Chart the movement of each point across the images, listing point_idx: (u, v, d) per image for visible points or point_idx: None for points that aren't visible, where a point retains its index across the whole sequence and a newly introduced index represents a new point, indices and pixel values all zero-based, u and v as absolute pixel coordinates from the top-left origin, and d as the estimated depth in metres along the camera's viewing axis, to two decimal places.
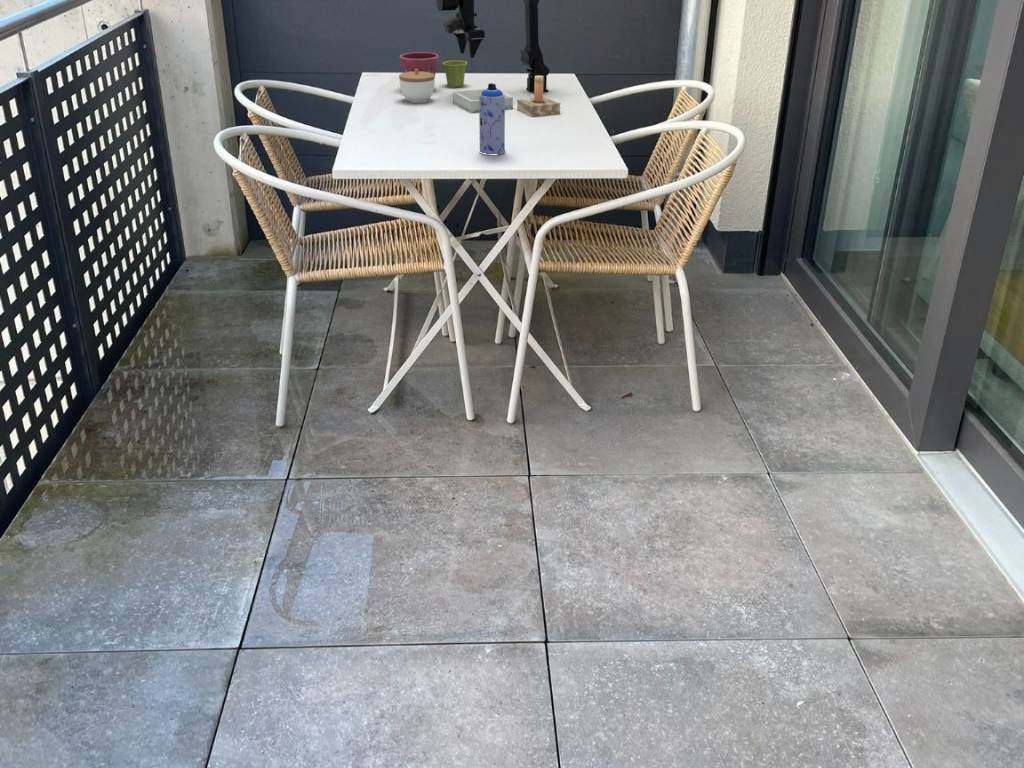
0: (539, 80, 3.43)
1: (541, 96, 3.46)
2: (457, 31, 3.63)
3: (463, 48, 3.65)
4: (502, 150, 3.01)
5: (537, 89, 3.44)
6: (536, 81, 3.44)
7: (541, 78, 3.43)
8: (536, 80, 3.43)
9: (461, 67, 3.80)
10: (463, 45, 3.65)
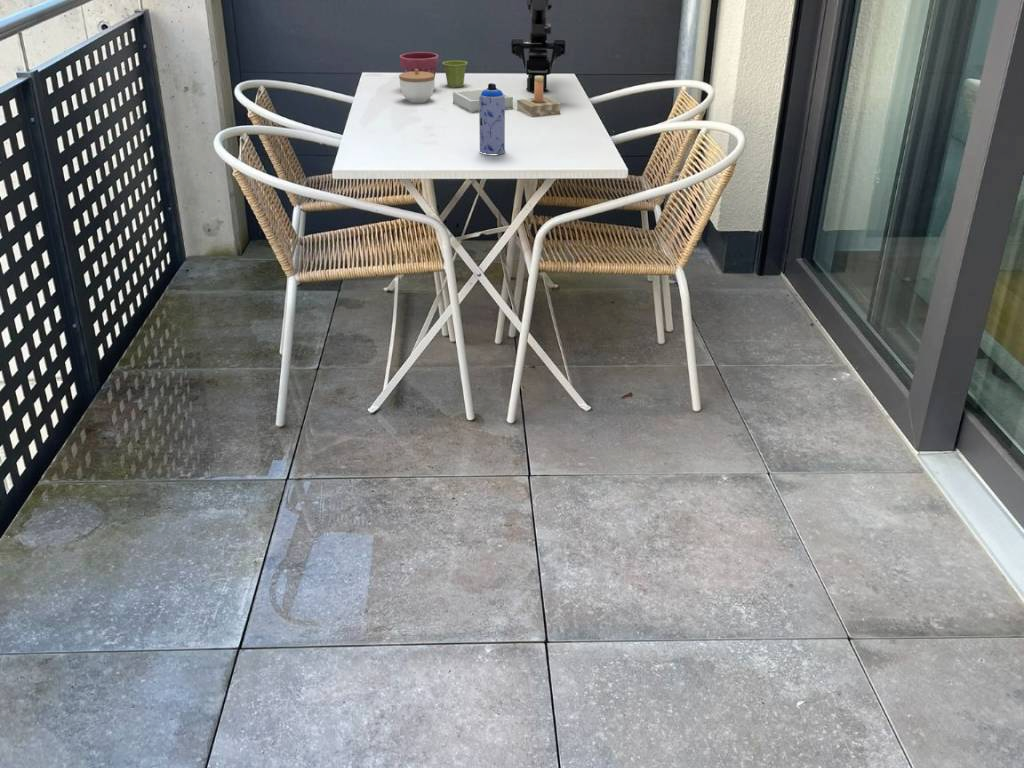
0: (539, 80, 3.43)
1: (541, 96, 3.46)
2: None
3: None
4: (502, 150, 3.01)
5: (537, 89, 3.44)
6: (536, 81, 3.44)
7: (541, 78, 3.43)
8: (536, 80, 3.43)
9: (461, 67, 3.80)
10: None
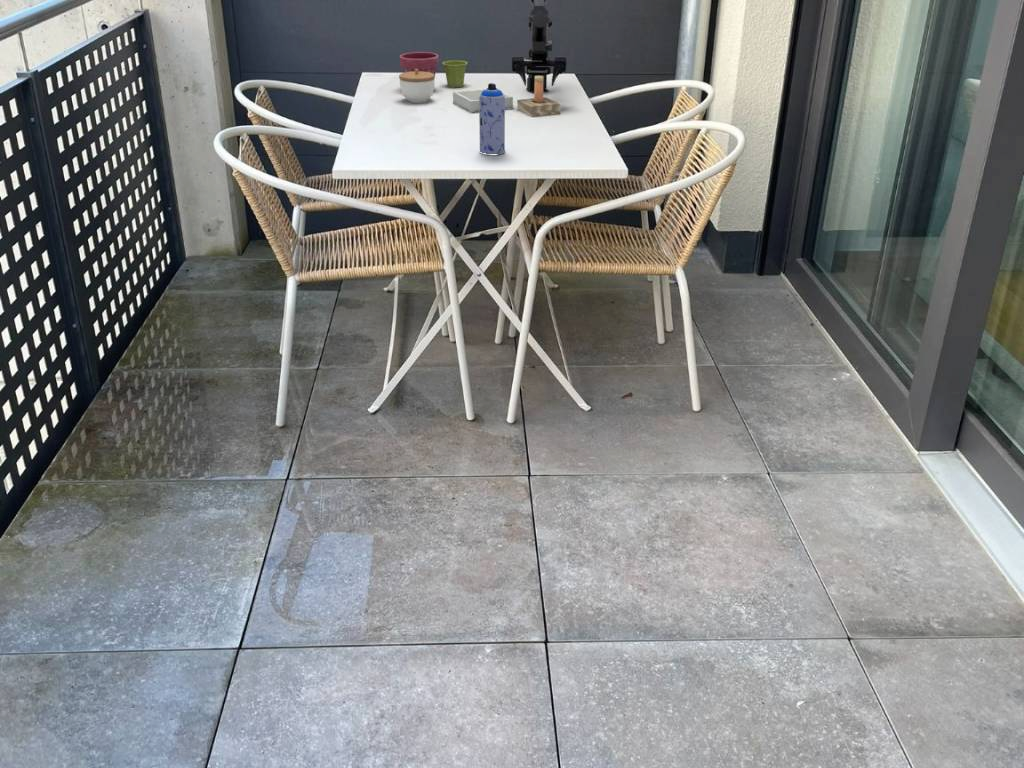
0: (539, 80, 3.43)
1: (541, 96, 3.46)
2: None
3: None
4: (502, 150, 3.01)
5: (537, 89, 3.44)
6: (536, 81, 3.44)
7: (541, 78, 3.43)
8: (536, 80, 3.43)
9: (461, 67, 3.80)
10: None
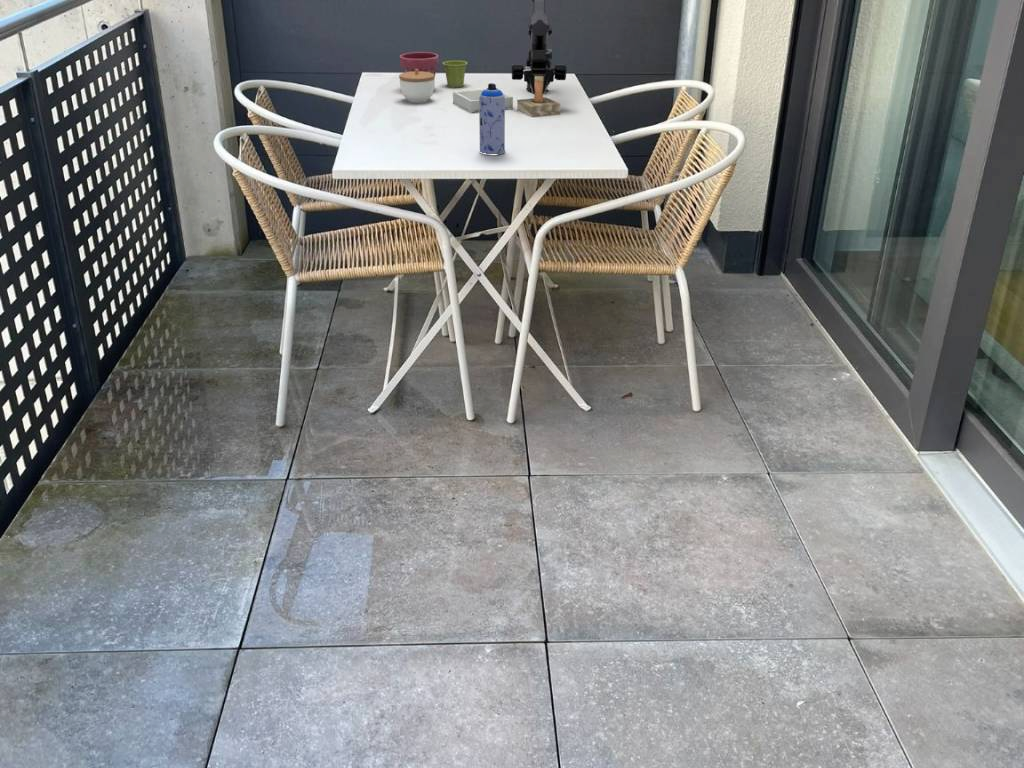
0: (539, 80, 3.43)
1: (541, 96, 3.46)
2: None
3: None
4: (502, 150, 3.01)
5: (537, 89, 3.44)
6: (536, 81, 3.44)
7: (541, 78, 3.43)
8: (536, 80, 3.43)
9: (461, 67, 3.80)
10: None
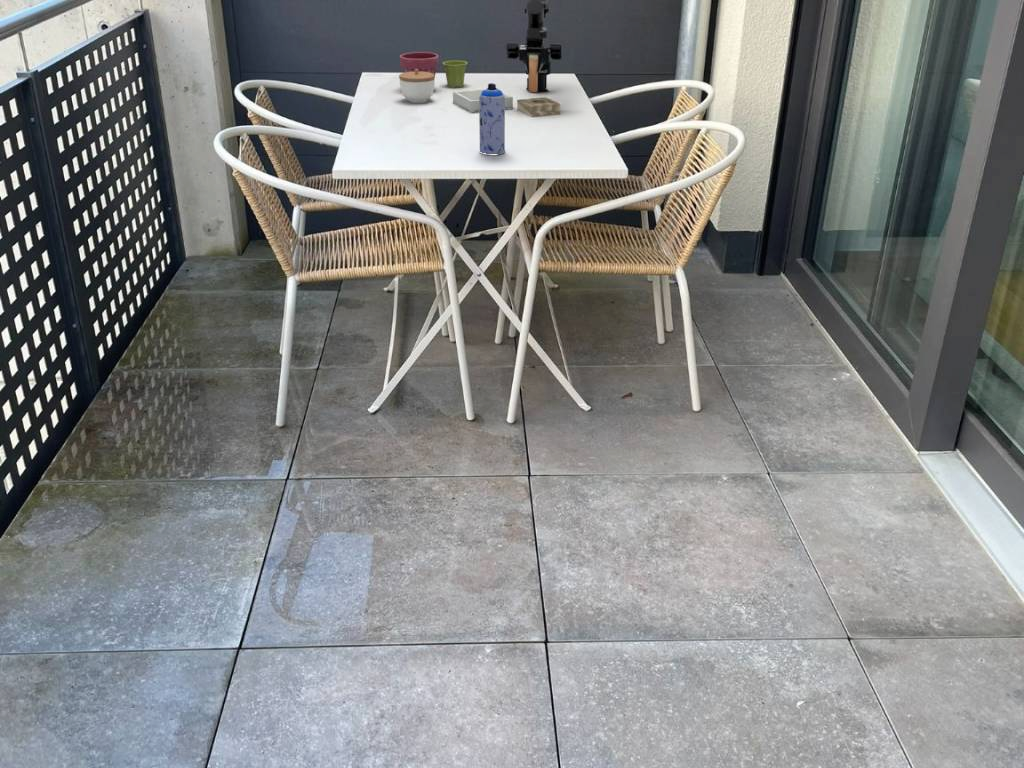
0: (533, 59, 3.40)
1: (535, 75, 3.43)
2: (526, 50, 3.43)
3: None
4: (502, 150, 3.01)
5: (532, 68, 3.41)
6: (530, 60, 3.41)
7: (535, 57, 3.40)
8: (530, 59, 3.40)
9: (461, 67, 3.80)
10: None
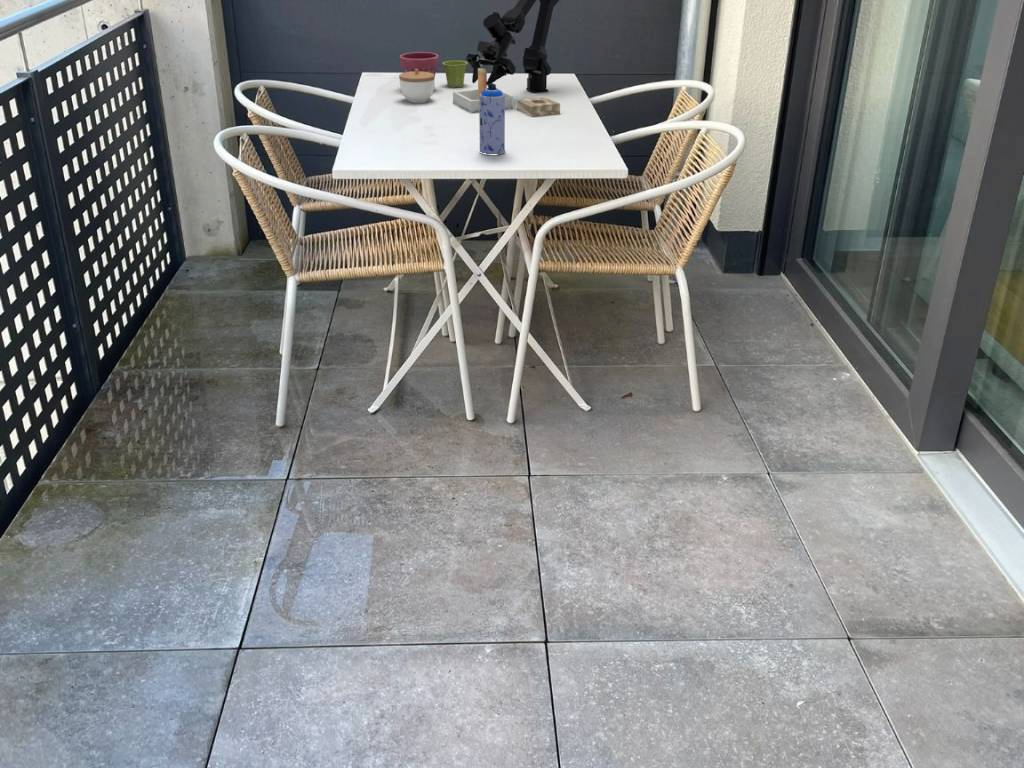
0: (479, 72, 3.50)
1: (482, 88, 3.53)
2: (478, 61, 3.55)
3: (476, 79, 3.55)
4: (502, 150, 3.01)
5: (478, 80, 3.52)
6: (478, 73, 3.51)
7: (481, 70, 3.50)
8: (478, 72, 3.51)
9: (461, 67, 3.80)
10: (477, 76, 3.55)
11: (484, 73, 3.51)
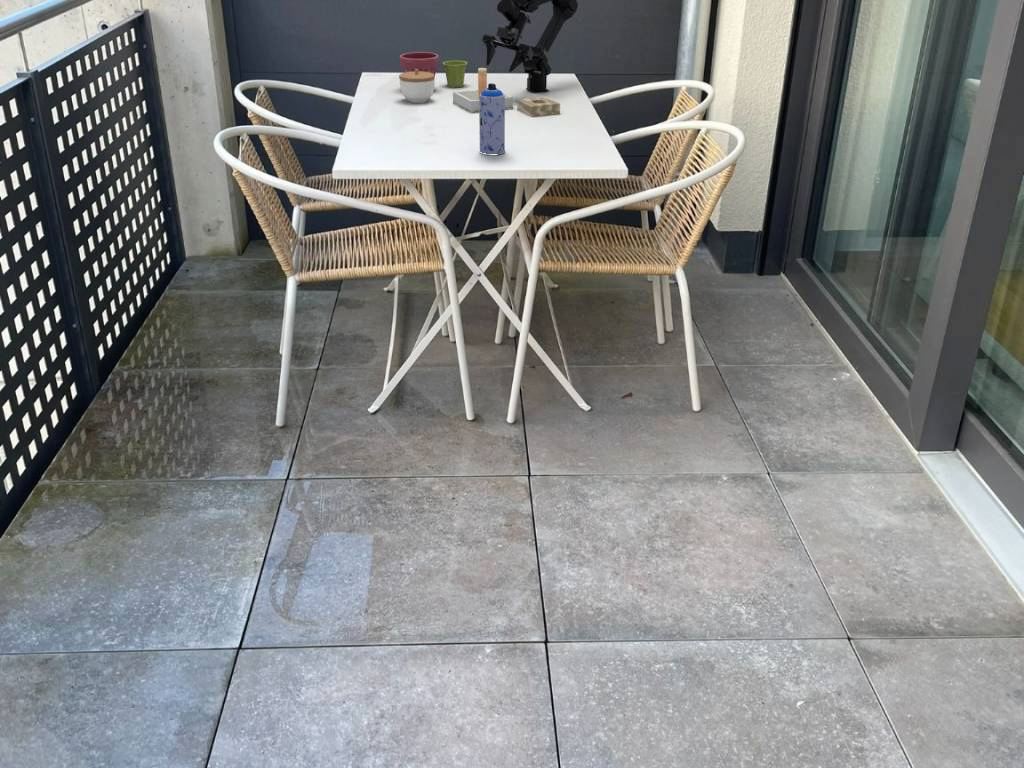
0: (480, 72, 3.50)
1: (482, 88, 3.53)
2: (492, 43, 3.59)
3: (489, 61, 3.61)
4: (502, 150, 3.01)
5: (479, 80, 3.52)
6: (478, 73, 3.51)
7: (482, 70, 3.50)
8: (478, 72, 3.51)
9: (461, 67, 3.80)
10: (490, 58, 3.61)
11: (484, 73, 3.51)
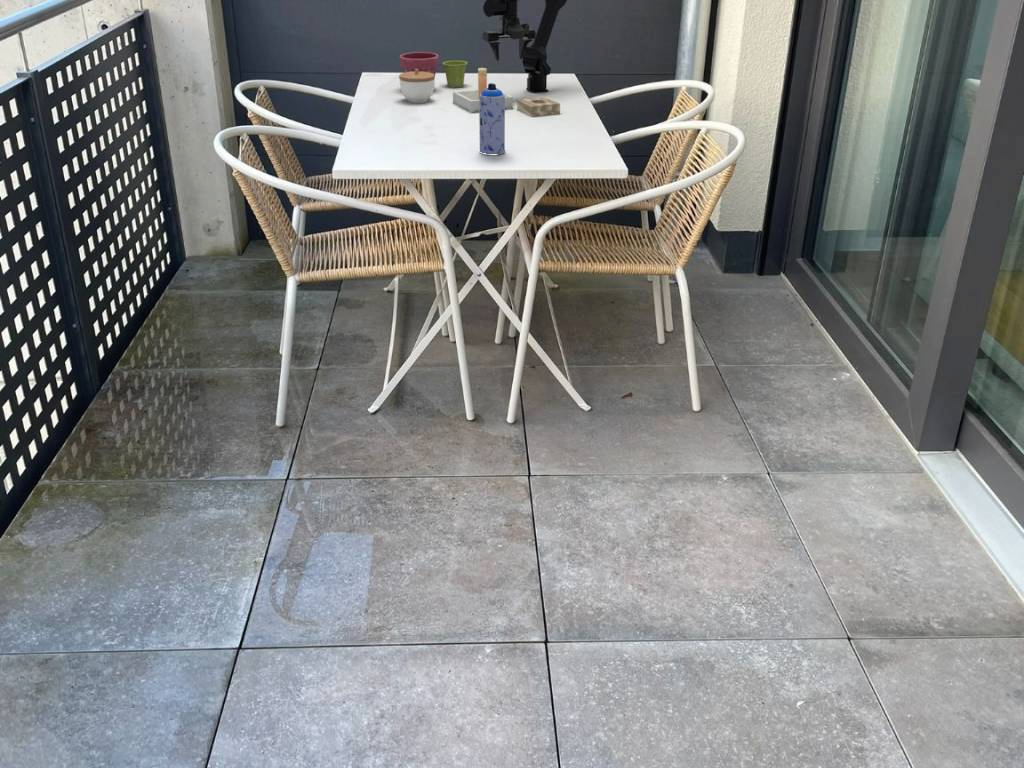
0: (480, 72, 3.50)
1: (482, 88, 3.53)
2: None
3: None
4: (502, 150, 3.01)
5: (479, 80, 3.52)
6: (478, 73, 3.51)
7: (482, 70, 3.50)
8: (478, 72, 3.51)
9: (461, 67, 3.80)
10: None
11: (484, 73, 3.51)
